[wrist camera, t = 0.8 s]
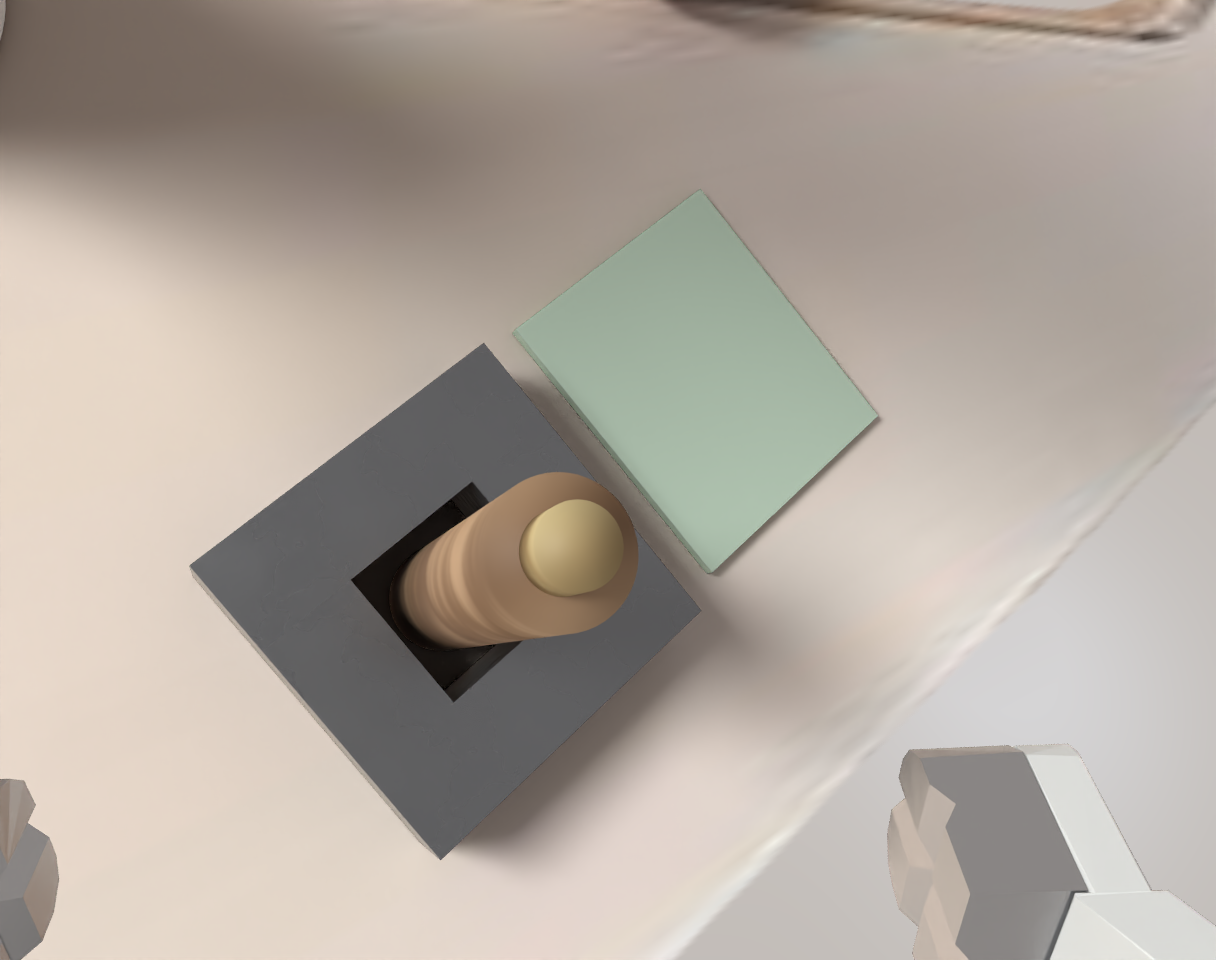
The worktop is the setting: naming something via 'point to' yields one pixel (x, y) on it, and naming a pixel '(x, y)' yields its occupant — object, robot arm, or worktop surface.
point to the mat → (698, 378)
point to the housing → (372, 652)
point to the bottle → (520, 568)
